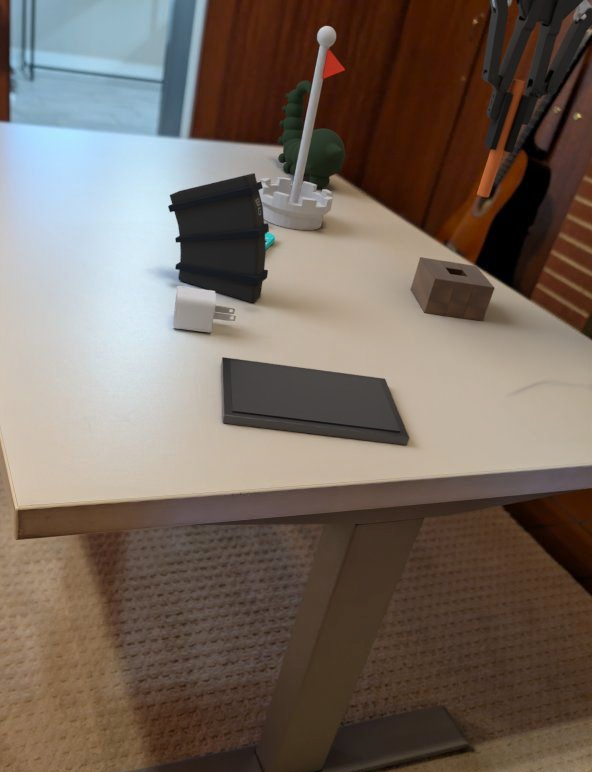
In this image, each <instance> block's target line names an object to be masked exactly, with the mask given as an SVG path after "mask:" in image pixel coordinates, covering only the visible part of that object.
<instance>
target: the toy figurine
mask: <svg viewBox="0 0 592 772" xmlns="http://www.w3.org/2000/svg"><path fill="white" fill-rule="evenodd" d="M312 84H313V83H311V82H310V81H309V80H301V81H300V82H298V83H297V85H296V89H295V88H294V89H292V90H291V91H289V92H287V93H286V94H285V99H286V100H287V102H288V103H287V105H283V106H282V108H281V110H282V112H283V113H284V114H285V116H286V117H285V118H284V120H283V119H282V120H280V121H279V127H280V128H282V129H283V132H282V135H281V136H279V137H278V138H277V143H278V144H279V145H280V146H281V145H282V146H283V148H282V152H281V153H280V154H279V155H278V158H277V159H278V161H279V163H280V164H283V165H282V171H283V172H284V173H290V174H291V175H292V176H293V177H294V176H295V171H296V166H297V161H298V155H299V150H300V145H301V140H302V135H303V129H304V120H303V118H302V117H303V116H304V113H305V108H304V105H303V104H304V102H305V95H308V96H309V97H310V94H311V89H312ZM345 158H346V148H345V145H344V141H343V139H342V138H341V137H340V136H339V134H337V132H335V131H333V130H332V129H329V128H324V127H323V128H317V129H316V128H315V129H313V132H312V137H311V142H310V147H309V152H308V157H307V161H306V166H305V171H304V175H307V176H309V179H308V182H309V183H313V184H316V185H317V188H316V189H325V188H327V187H328V186H329V185H330V182H331V181H330V180H331V179H330V178H331V177H332V176H335V175H336V174H340V173H341V171H342V167H343V165H344V162H345Z"/></svg>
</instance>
